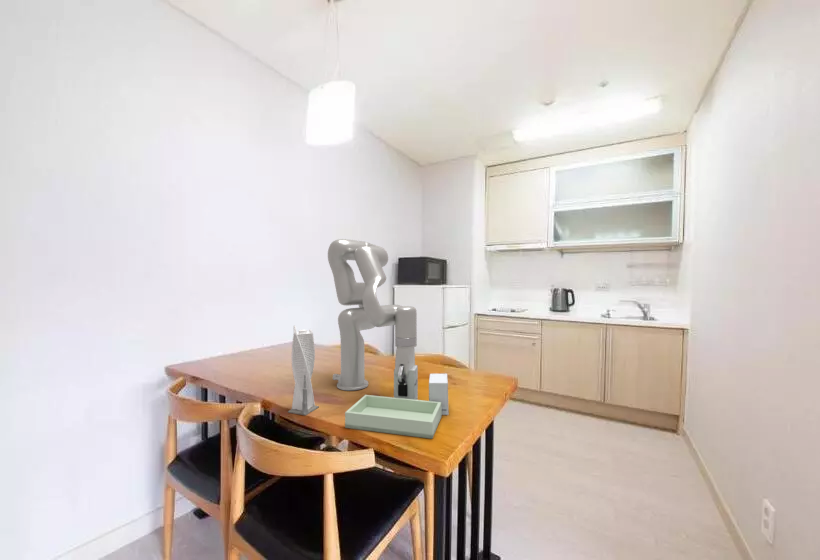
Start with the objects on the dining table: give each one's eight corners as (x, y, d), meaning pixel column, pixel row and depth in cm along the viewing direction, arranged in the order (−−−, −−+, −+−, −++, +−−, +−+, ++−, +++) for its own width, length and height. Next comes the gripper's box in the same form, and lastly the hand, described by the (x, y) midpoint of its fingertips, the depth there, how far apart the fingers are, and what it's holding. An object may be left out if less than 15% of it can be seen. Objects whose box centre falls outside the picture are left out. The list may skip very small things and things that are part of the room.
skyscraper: (284, 411, 107) (283, 326, 107) (300, 403, 115) (300, 323, 115) (305, 415, 104) (305, 327, 104) (320, 406, 112) (320, 324, 112)
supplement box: (414, 407, 110) (414, 370, 110) (393, 406, 112) (393, 369, 112) (418, 399, 118) (418, 364, 118) (398, 398, 119) (398, 363, 119)
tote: (345, 427, 96) (345, 412, 96) (365, 408, 110) (365, 394, 110) (432, 438, 89) (432, 422, 89) (441, 416, 103) (441, 402, 103)
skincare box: (429, 402, 115) (429, 372, 115) (448, 403, 115) (448, 373, 115) (428, 414, 105) (428, 382, 105) (448, 415, 104) (448, 382, 104)
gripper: (402, 337, 124) (402, 383, 124) (387, 346, 107) (387, 399, 107) (421, 337, 122) (422, 385, 122) (409, 347, 105) (409, 401, 105)
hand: (406, 391), depth 115 cm, fingers closed on supplement box, 7 cm apart
